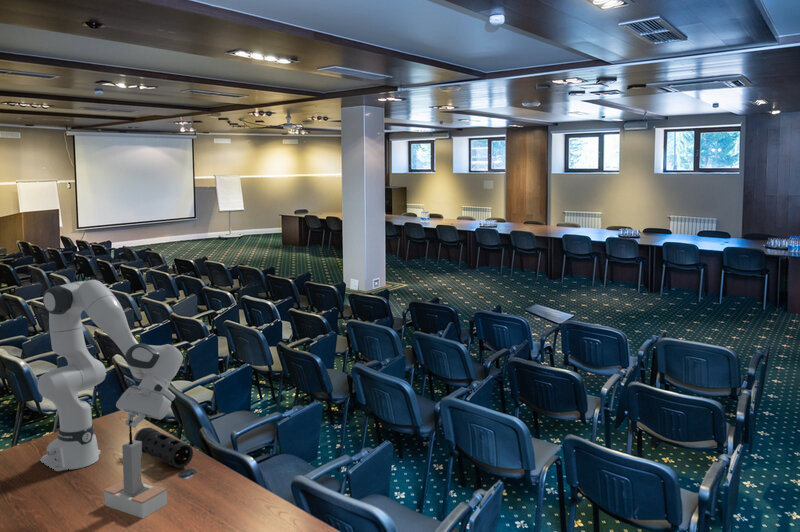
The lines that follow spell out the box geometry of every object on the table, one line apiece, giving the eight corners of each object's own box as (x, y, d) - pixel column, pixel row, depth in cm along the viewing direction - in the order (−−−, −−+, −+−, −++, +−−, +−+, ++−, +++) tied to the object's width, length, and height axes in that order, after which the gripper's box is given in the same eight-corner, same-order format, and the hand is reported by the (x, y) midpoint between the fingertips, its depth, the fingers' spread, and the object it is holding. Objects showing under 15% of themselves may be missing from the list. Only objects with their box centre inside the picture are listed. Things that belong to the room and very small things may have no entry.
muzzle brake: (172, 474, 230) (171, 448, 229) (132, 454, 247) (131, 430, 246) (194, 465, 238) (193, 440, 236) (154, 447, 255) (153, 423, 253)
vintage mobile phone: (143, 488, 209) (141, 417, 206) (132, 495, 204) (130, 422, 201) (134, 486, 210) (132, 416, 207) (123, 493, 205) (121, 421, 203)
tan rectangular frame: (105, 505, 208) (104, 489, 207) (129, 492, 217) (128, 477, 216) (143, 518, 200) (142, 502, 199) (167, 504, 209) (166, 488, 208)
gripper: (125, 380, 214) (102, 416, 206) (168, 388, 205) (146, 427, 197) (136, 388, 218) (114, 424, 211) (179, 397, 209) (157, 435, 202)
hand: (130, 426), depth 204 cm, fingers closed on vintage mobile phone
